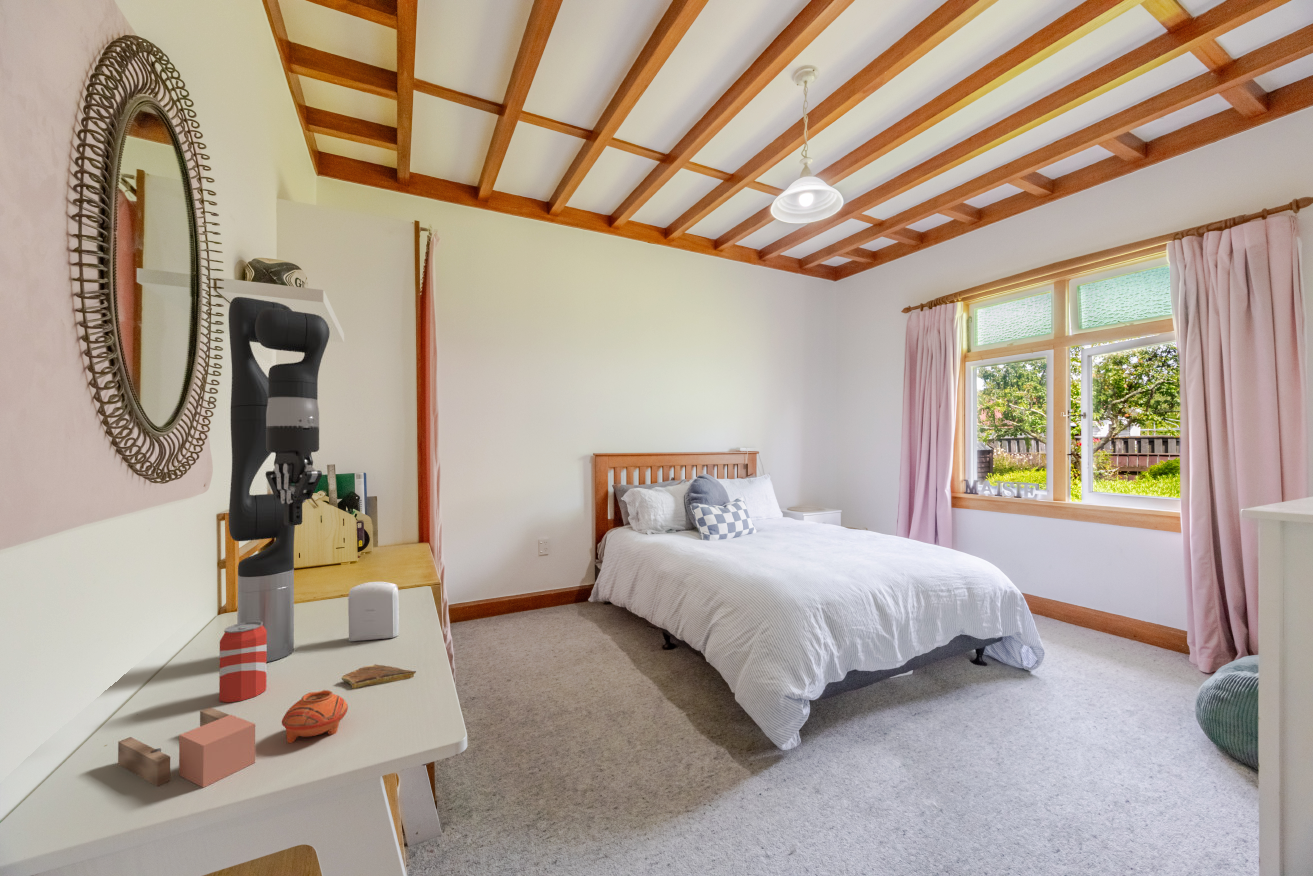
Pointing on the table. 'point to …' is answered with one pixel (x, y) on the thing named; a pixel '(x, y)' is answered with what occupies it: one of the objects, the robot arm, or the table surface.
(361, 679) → the shard
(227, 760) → the block
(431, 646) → the table surface
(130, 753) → the tan wooden frame
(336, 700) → the pot
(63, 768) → the table surface
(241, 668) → the beverage can
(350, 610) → the photo printer
